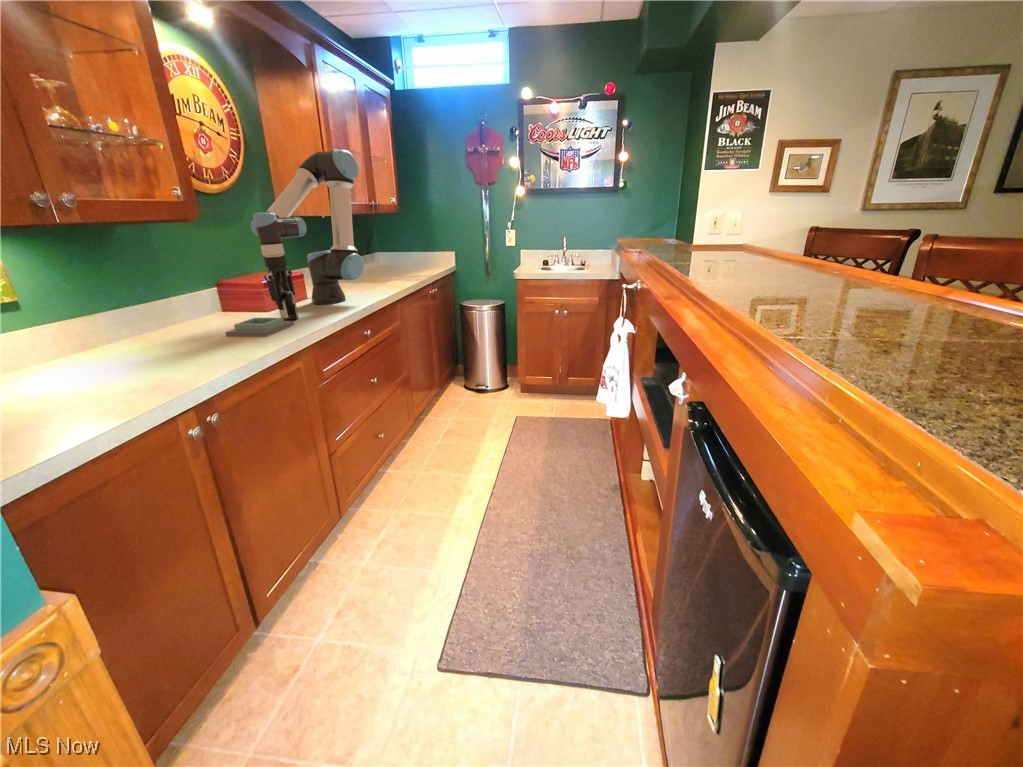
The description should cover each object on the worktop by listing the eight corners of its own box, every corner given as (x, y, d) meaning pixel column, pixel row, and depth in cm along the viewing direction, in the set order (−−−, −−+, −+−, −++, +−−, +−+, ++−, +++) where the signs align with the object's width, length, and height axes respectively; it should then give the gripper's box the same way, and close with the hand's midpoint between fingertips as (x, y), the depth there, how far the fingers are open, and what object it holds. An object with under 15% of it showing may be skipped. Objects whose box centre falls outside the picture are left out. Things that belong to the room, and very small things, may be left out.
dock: (257, 324, 170) (254, 315, 169) (294, 324, 168) (292, 315, 166) (226, 336, 156) (223, 326, 154) (266, 336, 153) (264, 326, 152)
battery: (278, 321, 174) (271, 292, 170) (284, 318, 178) (277, 290, 173) (294, 321, 173) (287, 292, 169) (300, 319, 176) (293, 290, 172)
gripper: (279, 253, 174) (292, 311, 183) (249, 258, 159) (265, 321, 168) (296, 253, 173) (309, 311, 182) (268, 258, 158) (283, 321, 166)
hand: (288, 316), depth 175 cm, fingers closed on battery, 4 cm apart
